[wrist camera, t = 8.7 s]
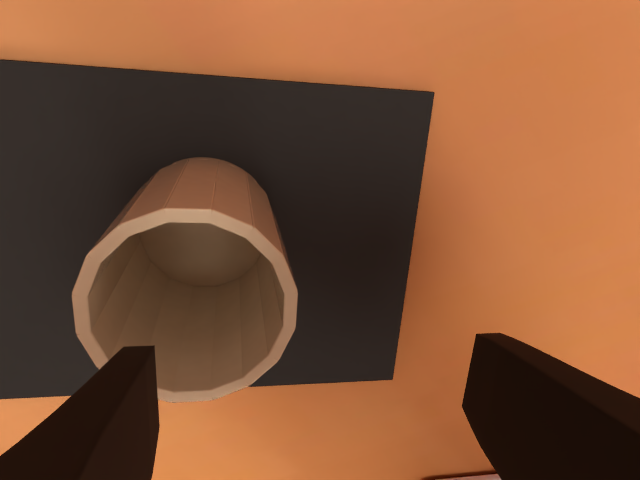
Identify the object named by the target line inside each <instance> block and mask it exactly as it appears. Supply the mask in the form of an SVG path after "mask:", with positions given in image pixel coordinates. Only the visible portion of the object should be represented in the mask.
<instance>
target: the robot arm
mask: <svg viewBox="0 0 640 480" xmlns="http://www.w3.org/2000/svg"><path fill="white" fill-rule="evenodd" d="M462 408H463V410H464V412H465V415H466V417H467V419H468V421H469V424H470V426H471V428H472V430H473V432H474V434H475V436H476V438H477V440H478V442H479V444H480V446H481V448H482V450H483V451H484V453H485V455H486V456H487V458H488V459H489V461H490V463H491V464H492V466H493V467H494V469H495V470H496V472H497V474H490V475H480V476H469V477H458V478H448V479H437V480H640V398H638V397H636V396H633V395H631V394H629V393H627V392H625V391H622V390H620V389H618V388H616V387H614V386H611V385H609V384H607V383H605V382H603V381H601V380H599V379H597V378H595V377H593V376H591V375H589V374H587V373H584V372H582V371H580V370H578V369H576V368H574V367H572V366H570V365H568V364H566V363H564V362H562V361H560V360H558V359H556V358H554V357H552V356H550V355H548V354H546V353H544V352H542V351H540V350H538V349H536V348H534V347H532V346H530V345H528V344H525V343H523V342H521V341H519V340H517V339H514V338H512V337H509V336H507V335H504V334H501V333H486V334H476V337H475V343H474V348H473V353H472V358H471V363H470V368H469V373H468V378H467V383H466V388H465V393H464V398H463V403H462ZM158 433H159V411H158V394H157V377H156V359H155V345H153V346H125V347H123V348H121V349H120V350H119V351H118V352H117V353H116V354H115V355H114V356H113V357H112V358H111V359H110V360H109V361H108V362H107V363H105V364H104V365H103V366H102V367H101V368H100V369H99V370H98V371H97V372H96V373H95V374H94V375H93V376H92V377H91V378H90V379H89V380H88V381H87V382H86V383H85V384H84V385H83V386H82V387H81V388H80V389H78V390H77V391H76V392H75V393H74V394H73V395H72V396H71V397H70V398H69V399H68V400H67V401H65V402H64V403H63V404H62V405H61V406H60V407H59V408H58V409H57V410H56V411H55V412H53V413H52V414H51V415H50V416H49V417H47V418H46V419H45V420H44V421H43V422H41V423H40V424H39V425H38V426H37V427H36V428H34V429H33V430H32V431H31V432H30V433H28V434H27V435H26V436H25V437H24V438H22V439H21V440H20V441H19V442H18V443H16V444H15V445H14V446H13V447H11V448H10V449H9V450H7V451H6V452H5V453H4V454H2V455H1V456H0V480H151V478H152V474H153V467H154V461H155V454H156V447H157V440H158Z"/></svg>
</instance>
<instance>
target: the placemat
mask: <svg viewBox="0 0 640 480" xmlns="http://www.w3.org/2000/svg"><path fill="white" fill-rule="evenodd" d="M433 99H434V92H426V91H413V90H400V89H386V88H373V87H360V86H346V85H333V84H320V83H306V82H293V81H280V80H266V79H253V78H240V77H227V76H213V75H200V74H187V73H173V72H160V71H147V70H133V69H120V68H107V67H94V66H80V65H67V64H54V63H40V62H27V61H14V60H0V399H13V398H33V397H53V396H72V395H73V394H74V393H75V392H76V391H77V390H78V389H80V388H81V387H82V386H83V385H84V384H85V383H86V382H87V381H88V380H89V379H90V378H91V377H92V376H93V375H94V374H95V373H96V372H97V371H98V370H99V369H98V368H97V367H96V365H95V364H94V362H93V360H92V359H91V357H90V356H89V354H88V353H87V351H86V349H85V348H84V346H83V345H82V343H81V342H80V340H79V338H78V337H77V334H76V330H75V322H74V313H73V304H72V291H73V288H74V286H75V283H76V280H77V278H78V275H79V273H80V270H81V267H82V265H83V262H84V259H85V257H86V255H87V254H88V252H89V251H90V250H91V249H92V247H93V246H94V245H95V244H96V242H97V241H98V240H99V239H100V237H101V236H102V235H103V234H104V232H105V231H106V230H107V229H108V227H109V226H110V225H111V224H112V222H113V221H114V220H115V219H116V217H117V216H118V215H119V214H120V212H121V211H122V210H123V209H124V207H125V206H126V205H127V204H128V202H129V201H130V200H131V199H132V197H133V196H134V195H135V194H136V192H137V191H138V190H139V189H140V188H141V187H142V186H143V185H144V184H145V183H146V182H147V181H148V180H149V179H150V178H151V177H152V176H153V175H154V174H155V173H156V172H158V171H159V170H160V169H162V168H164V167H165V166H167V165H169V164H171V163H174V162H176V161H180V160H183V159H188V158H194V157H207V158H215V159H220V160H224V161H227V162H229V163H232V164H234V165H236V166H238V167H240V168H242V169H243V170H244V171H246V172H247V173H249V174H250V175H251V176H252V177H253V178H254V179H255V180H256V181H257V182H258V183H259V184H260V185H261V187H262V188H263V190H264V191H265V192H266V194H267V196H268V199H269V201H270V203H271V207H272V209H273V212H274V214H275V217H276V220H277V224H278V227H279V230H280V233H281V237H282V240H283V243H284V247H285V250H286V253H287V257H288V260H289V263H290V267H291V270H292V273H293V277H294V280H295V283H296V287H297V291H298V300H297V316H296V327H295V331H294V332H293V334H292V336H291V338H290V340H289V342H288V344H287V346H286V348H285V350H284V352H283V353H282V355H281V357H280V359H279V360H278V362H277V363H276V364H275V365H273V366H272V367H271V368H270V369H269V370H268V371H266V372H265V373H264V374H263V375H262V376H261V377H259V378H258V379H257V380H256V381H255V382H254V383H253V384H251V385H249V386H248V387H256V386H276V385H296V384H317V383H337V382H357V381H377V380H392V379H393V373H394V366H395V359H396V352H397V346H398V339H399V332H400V325H401V318H402V311H403V304H404V298H405V291H406V284H407V277H408V270H409V263H410V256H411V250H412V243H413V236H414V229H415V222H416V215H417V208H418V202H419V195H420V188H421V181H422V174H423V167H424V161H425V154H426V147H427V140H428V133H429V126H430V119H431V113H432V106H433Z"/></svg>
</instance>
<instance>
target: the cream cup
mask: <svg viewBox="0 0 640 480" xmlns="http://www.w3.org/2000/svg"><path fill="white" fill-rule="evenodd" d="M297 300H298V291H297V287H296V283H295V280H294V277H293V273H292V270H291V267H290V263H289V260H288V257H287V253H286V250H285V247H284V243H283V240H282V237H281V233H280V230H279V227H278V224H277V220H276V217H275V214H274V212H273V209H272V207H271V203H270V201H269V199H268V196H267V194H266V192H265V191H264V190H263V188H262V187H261V185H260V184H259V183H258V182H257V181H256V180H255V179H254V178H253V177H252V176H251V175H250V174H249V173H247V172H246V171H244V170H243V169H242V168H240V167H238V166H236V165H234V164H232V163H229V162H227V161H224V160H220V159H215V158H207V157H194V158H188V159H183V160H180V161H176V162H174V163H171V164H169V165H167V166H165V167H164V168H162V169H160V170H159V171H158V172H156V173H155V174H154V175H153V176H152V177H151V178H150V179H149V180H148V181H147V182H146V183H145V184H144V185H143V186H142V187H141V188H140V189H139V190H138V191H137V192H136V194H135V195H134V196H133V197H132V199H131V200H130V201H129V202H128V204H127V205H126V206H125V207H124V209H123V210H122V211H121V212H120V214H119V215H118V216H117V217H116V219H115V220H114V221H113V222H112V224H111V225H110V226H109V227H108V229H107V230H106V231H105V232H104V234H103V235H102V236H101V237H100V239H99V240H98V241H97V242H96V244H95V245H94V246H93V247H92V249H91V250H90V251H89V252H88V254H87V255H86V257H85V259H84V262H83V265H82V267H81V270H80V273H79V275H78V278H77V280H76V283H75V286H74V288H73V291H72V304H73V313H74V322H75V330H76V334H77V337H78V338H79V340H80V342H81V343H82V345H83V346H84V348H85V349H86V351H87V353H88V354H89V356H90V357H91V359H92V360H93V362H94V364H95V365H96V367H97V368H98V369H100V368H101V367H102V366H103V365H104V364H105V363H107V362H108V361H109V360H110V359H111V358H112V357H113V356H114V355H115V354H116V353H117V352H118V351H119V350H120V349H121V348H123V347H125V346H153V345H155V359H156V377H157V394H158V399H159V400H163V401H166V402H172V403H177V402H196V401H211V400H215V399H218V398H220V397H223V396H225V395H228V394H231V393H233V392H236V391H238V390H241V389H243V388H246V387H248V386H249V385H251V384H253V383H254V382H255V381H256V380H257V379H258V378H259V377H261V376H262V375H263V374H264V373H265V372H266V371H268V370H269V369H270V368H271V367H272V366H273V365H275V364H276V363H277V362H278V360H279V359H280V357H281V355H282V353H283V352H284V350H285V348H286V346H287V344H288V342H289V340H290V338H291V336H292V334H293V332H294V331H295V327H296V316H297Z"/></svg>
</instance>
